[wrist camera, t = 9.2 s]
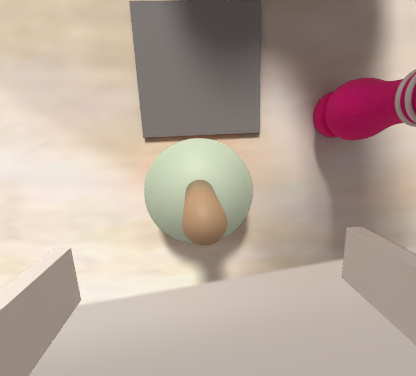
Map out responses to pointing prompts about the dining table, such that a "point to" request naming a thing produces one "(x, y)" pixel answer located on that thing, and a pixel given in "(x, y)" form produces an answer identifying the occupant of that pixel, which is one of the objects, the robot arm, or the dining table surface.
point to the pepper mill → (366, 107)
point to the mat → (197, 66)
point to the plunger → (198, 191)
